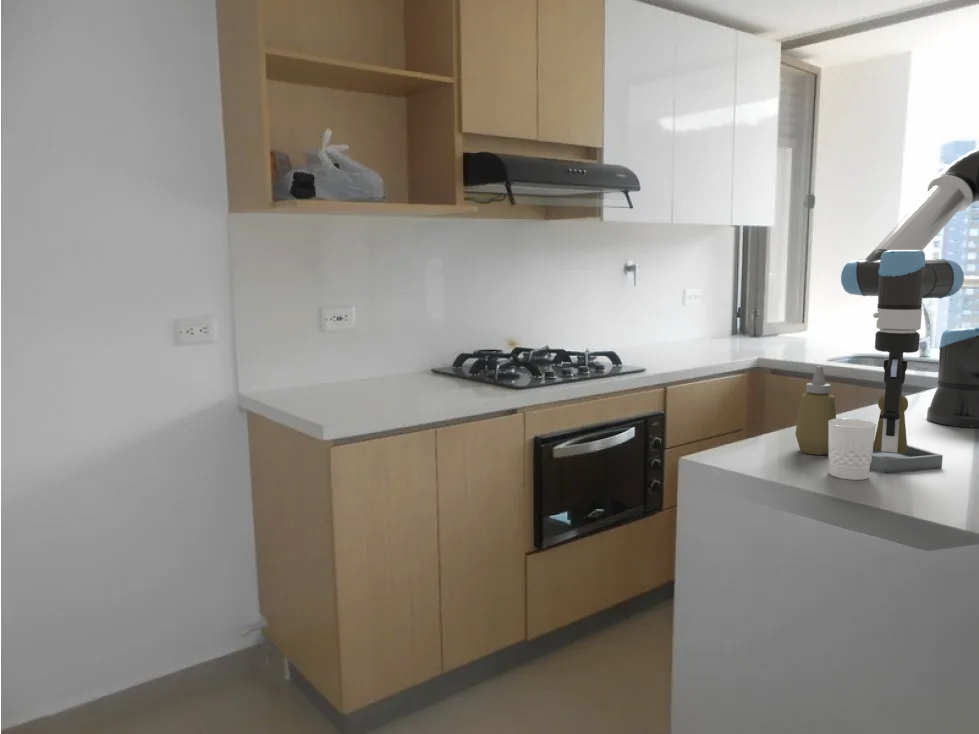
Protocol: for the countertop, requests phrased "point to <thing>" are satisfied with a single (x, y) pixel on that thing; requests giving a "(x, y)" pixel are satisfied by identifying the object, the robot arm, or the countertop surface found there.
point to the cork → (902, 428)
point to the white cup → (850, 448)
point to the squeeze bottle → (815, 415)
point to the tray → (905, 460)
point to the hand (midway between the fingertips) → (890, 447)
